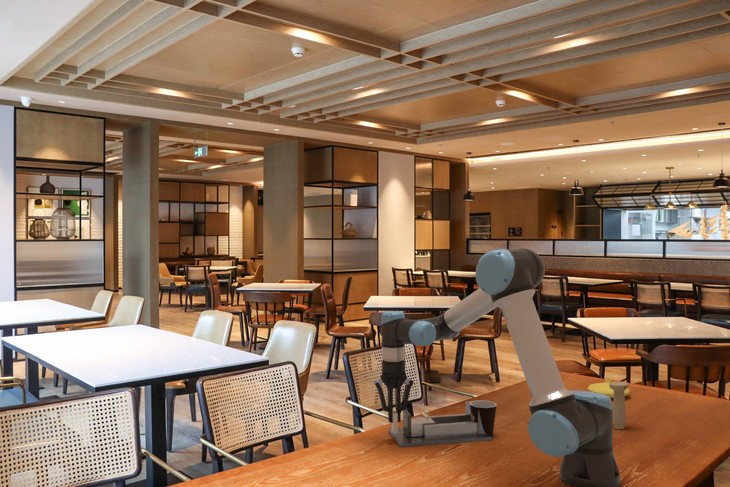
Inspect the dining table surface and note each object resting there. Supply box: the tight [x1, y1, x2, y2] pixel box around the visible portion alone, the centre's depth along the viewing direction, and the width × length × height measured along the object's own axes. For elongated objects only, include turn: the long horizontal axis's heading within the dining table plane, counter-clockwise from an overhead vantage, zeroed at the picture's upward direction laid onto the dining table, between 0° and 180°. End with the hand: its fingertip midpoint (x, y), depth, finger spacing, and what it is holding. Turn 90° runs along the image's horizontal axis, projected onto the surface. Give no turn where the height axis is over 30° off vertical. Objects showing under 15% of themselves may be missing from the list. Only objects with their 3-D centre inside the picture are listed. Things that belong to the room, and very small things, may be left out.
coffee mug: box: [470, 399, 498, 438], centre depth 204 cm, size 12×9×10 cm
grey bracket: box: [402, 409, 435, 437], centre depth 204 cm, size 11×9×7 cm
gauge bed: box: [388, 400, 492, 448], centre depth 202 cm, size 16×30×9 cm, turn 100°
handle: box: [609, 381, 629, 430], centre depth 207 cm, size 5×6×15 cm
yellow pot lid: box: [587, 377, 631, 399], centre depth 248 cm, size 16×16×7 cm
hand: (394, 432), depth 199 cm, fingers closed
